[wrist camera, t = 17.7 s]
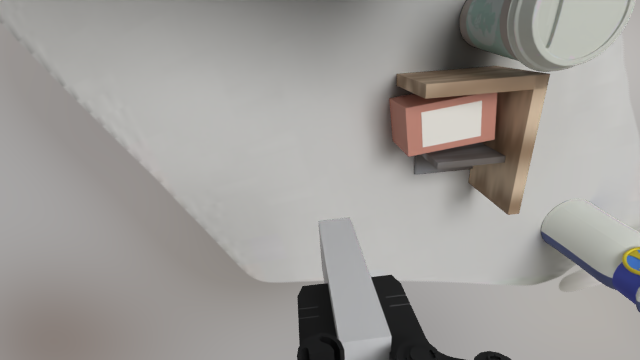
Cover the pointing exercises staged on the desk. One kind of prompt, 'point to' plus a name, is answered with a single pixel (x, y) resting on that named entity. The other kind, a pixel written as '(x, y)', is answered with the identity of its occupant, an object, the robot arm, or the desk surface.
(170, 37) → the desk surface
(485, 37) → the coffee cup
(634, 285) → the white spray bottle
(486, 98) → the red box
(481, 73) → the shelf
